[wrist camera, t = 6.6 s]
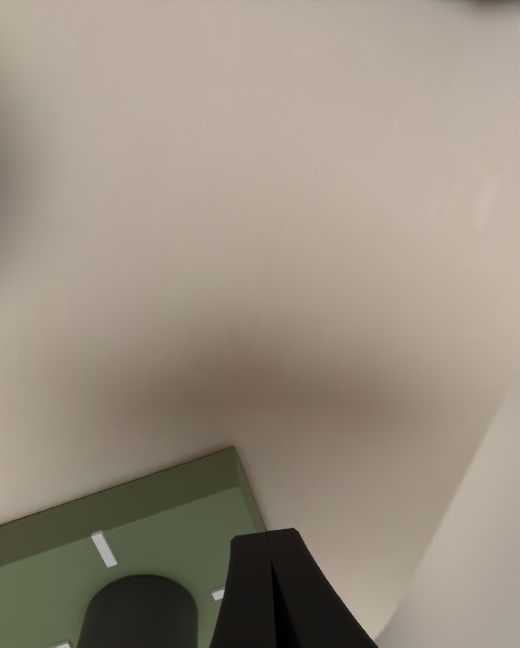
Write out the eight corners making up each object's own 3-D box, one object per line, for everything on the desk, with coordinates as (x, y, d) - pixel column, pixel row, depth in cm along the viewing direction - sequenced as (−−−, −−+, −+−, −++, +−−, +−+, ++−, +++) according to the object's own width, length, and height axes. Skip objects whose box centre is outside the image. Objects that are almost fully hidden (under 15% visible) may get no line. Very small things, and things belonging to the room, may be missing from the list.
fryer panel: (233, 443, 18) (238, 486, 16) (291, 597, 21) (304, 654, 18) (-14, 527, 18) (-49, 583, 16) (75, 671, 21) (57, 740, 18)
